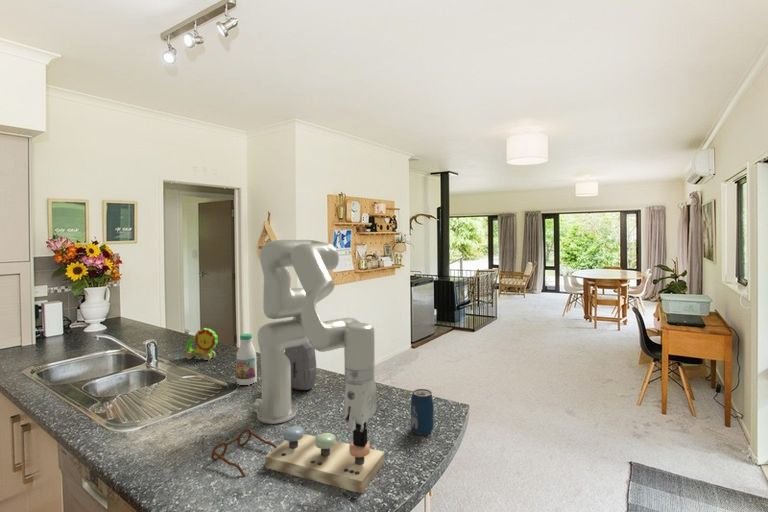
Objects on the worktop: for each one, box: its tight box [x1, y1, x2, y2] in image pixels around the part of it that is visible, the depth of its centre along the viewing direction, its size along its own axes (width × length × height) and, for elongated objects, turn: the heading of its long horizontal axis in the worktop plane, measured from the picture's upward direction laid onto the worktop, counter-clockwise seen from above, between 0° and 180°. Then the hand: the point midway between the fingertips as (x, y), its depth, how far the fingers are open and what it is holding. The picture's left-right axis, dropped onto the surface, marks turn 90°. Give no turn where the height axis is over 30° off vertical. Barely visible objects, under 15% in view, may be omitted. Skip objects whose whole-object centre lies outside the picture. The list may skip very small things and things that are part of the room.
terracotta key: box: [349, 441, 371, 457], centre depth 103 cm, size 5×5×2 cm
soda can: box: [410, 388, 435, 436], centre depth 126 cm, size 7×7×12 cm
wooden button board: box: [264, 433, 386, 494], centre depth 107 cm, size 28×14×4 cm, turn 68°
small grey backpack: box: [284, 341, 317, 391], centre depth 159 cm, size 15×8×20 cm, turn 58°
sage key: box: [315, 432, 336, 449], centre depth 107 cm, size 5×5×2 cm
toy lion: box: [184, 327, 219, 361], centre depth 197 cm, size 16×5×15 cm, turn 79°
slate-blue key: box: [283, 425, 304, 441], centre depth 110 cm, size 5×5×2 cm
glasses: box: [210, 428, 277, 478], centre depth 110 cm, size 13×13×5 cm
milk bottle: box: [236, 333, 258, 386], centre depth 165 cm, size 8×8×20 cm
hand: (360, 444), depth 102 cm, fingers closed
